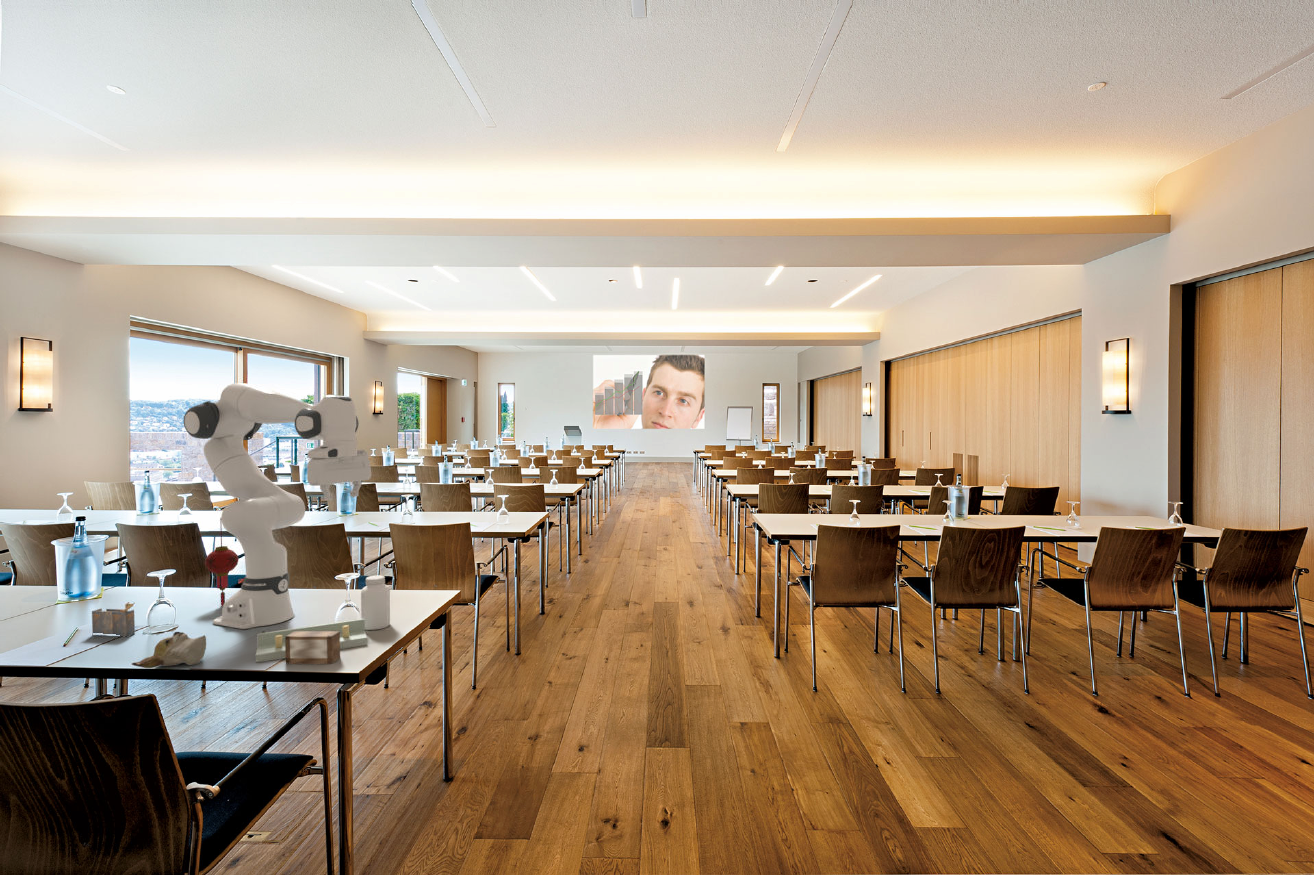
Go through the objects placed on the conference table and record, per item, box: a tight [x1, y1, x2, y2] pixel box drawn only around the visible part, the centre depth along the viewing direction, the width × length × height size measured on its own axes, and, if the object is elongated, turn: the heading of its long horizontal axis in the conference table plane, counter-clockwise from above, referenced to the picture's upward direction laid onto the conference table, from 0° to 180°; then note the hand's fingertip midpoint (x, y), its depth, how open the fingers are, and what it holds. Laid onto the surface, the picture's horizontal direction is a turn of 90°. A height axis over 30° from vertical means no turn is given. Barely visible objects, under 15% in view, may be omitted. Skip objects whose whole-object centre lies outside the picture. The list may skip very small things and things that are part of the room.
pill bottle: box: [360, 574, 391, 631], centre depth 190 cm, size 8×8×15 cm
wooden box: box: [285, 631, 341, 665], centre depth 163 cm, size 12×4×7 cm, turn 89°
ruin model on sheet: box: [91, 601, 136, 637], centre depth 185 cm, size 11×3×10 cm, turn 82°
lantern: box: [204, 517, 239, 606], centre depth 214 cm, size 10×10×30 cm
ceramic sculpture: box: [131, 631, 207, 669], centre depth 162 cm, size 11×9×15 cm
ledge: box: [255, 618, 368, 663], centre depth 172 cm, size 26×8×5 cm, turn 119°
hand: (341, 498), depth 183 cm, fingers open, 8 cm apart
